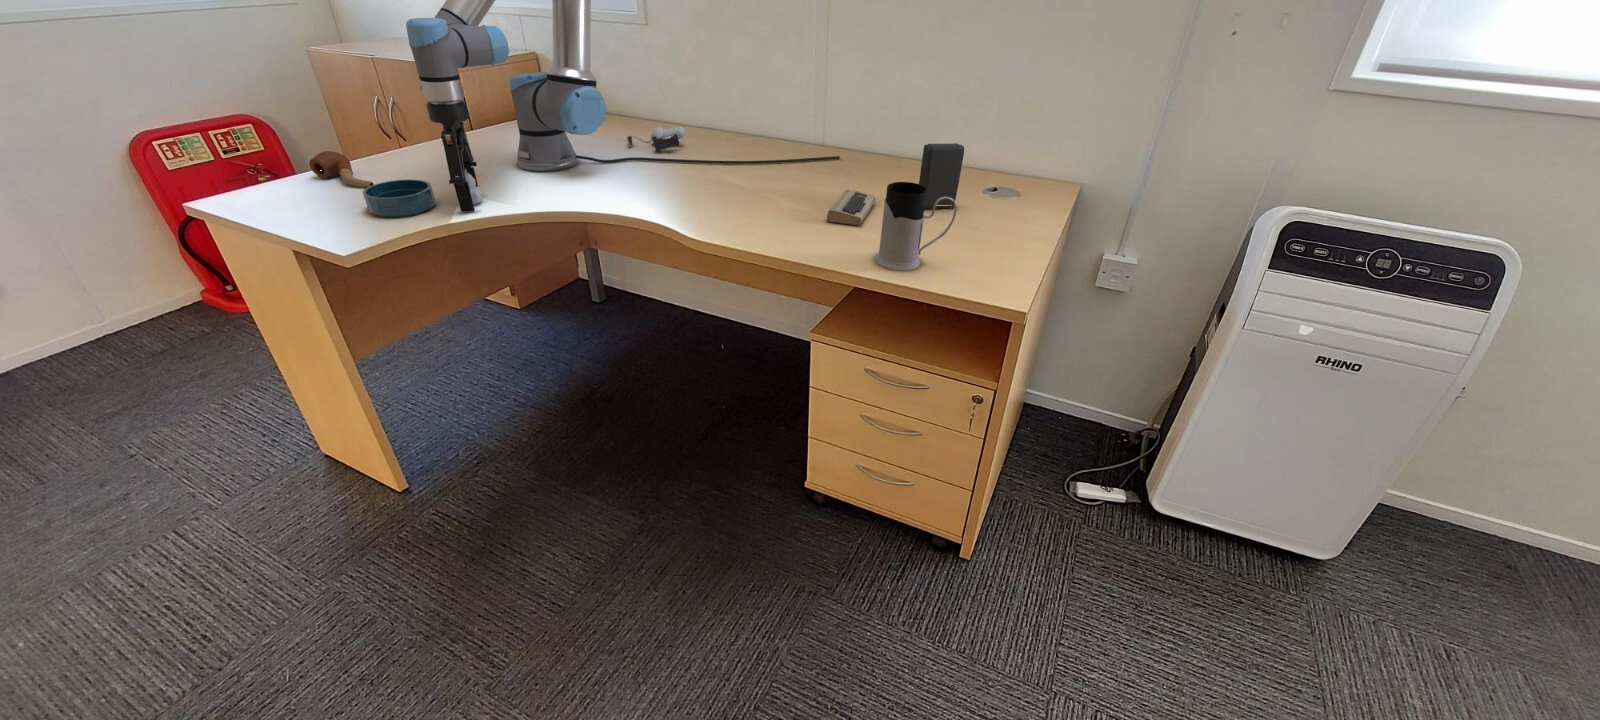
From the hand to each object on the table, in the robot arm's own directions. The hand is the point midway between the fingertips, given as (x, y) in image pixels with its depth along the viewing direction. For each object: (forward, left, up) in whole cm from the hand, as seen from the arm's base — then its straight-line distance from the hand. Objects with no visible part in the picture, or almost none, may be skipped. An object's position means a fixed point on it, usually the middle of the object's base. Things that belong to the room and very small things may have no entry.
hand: (471, 203), depth 147 cm
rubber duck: (0, 0, 0) cm, 0 cm away
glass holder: (-87, +52, 0) cm, 101 cm away
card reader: (-107, +23, 0) cm, 109 cm away
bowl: (+14, 0, 0) cm, 14 cm away
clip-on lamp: (-46, -42, 0) cm, 62 cm away
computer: (-85, +23, 0) cm, 88 cm away
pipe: (+30, -24, 0) cm, 38 cm away
